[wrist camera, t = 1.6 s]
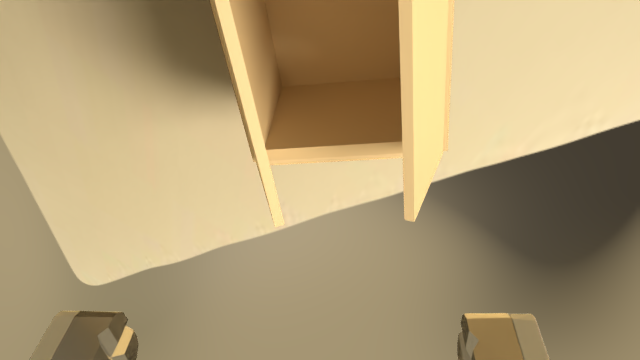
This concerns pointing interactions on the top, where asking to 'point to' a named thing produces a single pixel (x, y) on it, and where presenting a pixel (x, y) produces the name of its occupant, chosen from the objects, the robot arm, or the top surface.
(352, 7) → the carton
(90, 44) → the top surface
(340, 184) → the top surface
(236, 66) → the flap
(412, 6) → the flap
